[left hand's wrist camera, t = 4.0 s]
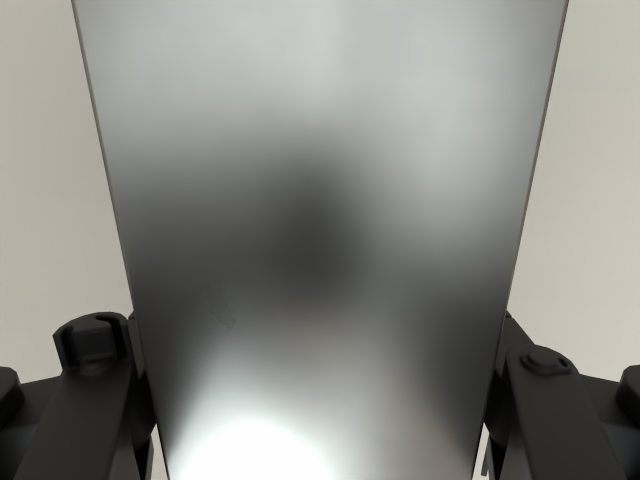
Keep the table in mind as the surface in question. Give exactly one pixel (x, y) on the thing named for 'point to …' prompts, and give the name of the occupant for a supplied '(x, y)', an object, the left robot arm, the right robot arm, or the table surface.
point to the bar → (319, 220)
